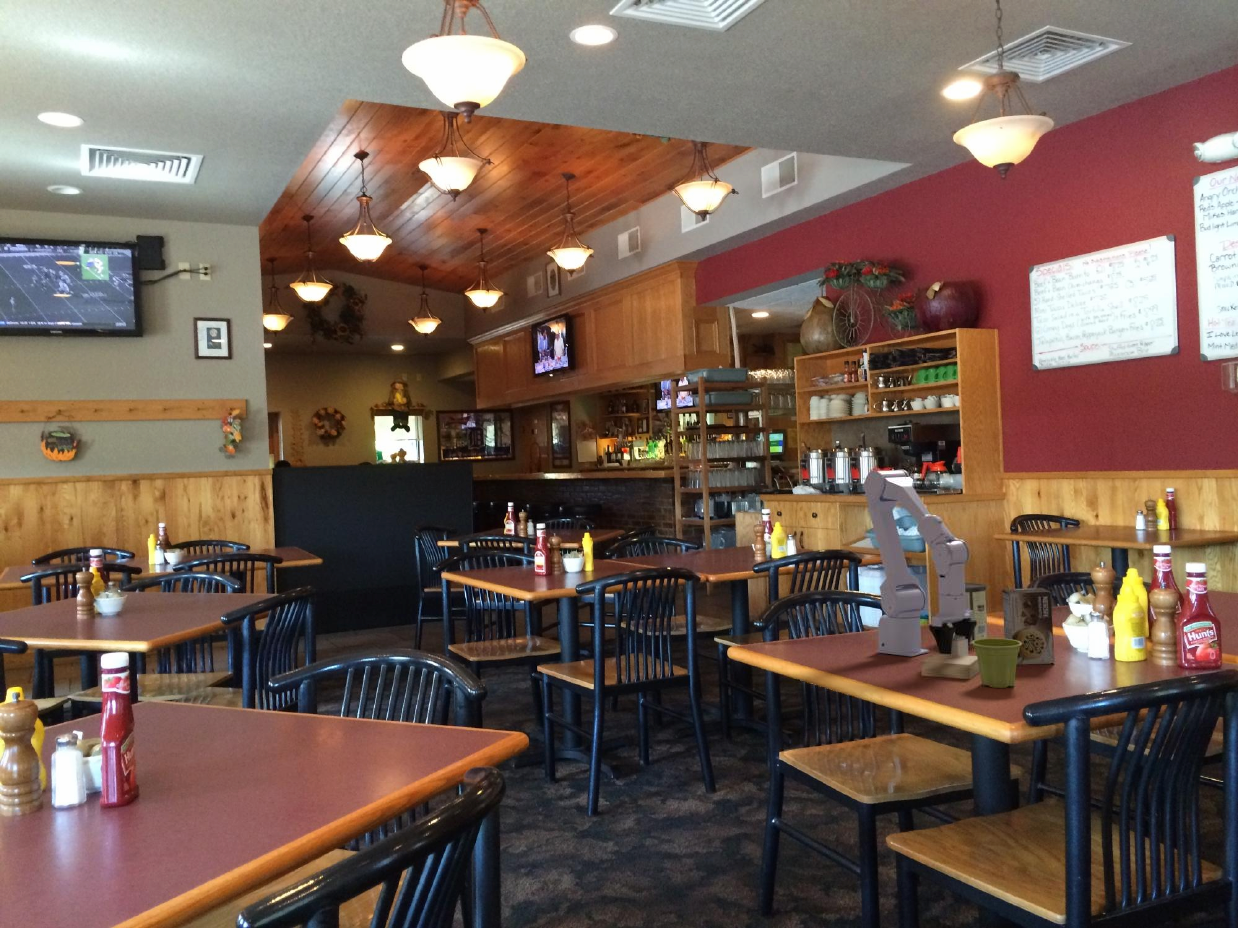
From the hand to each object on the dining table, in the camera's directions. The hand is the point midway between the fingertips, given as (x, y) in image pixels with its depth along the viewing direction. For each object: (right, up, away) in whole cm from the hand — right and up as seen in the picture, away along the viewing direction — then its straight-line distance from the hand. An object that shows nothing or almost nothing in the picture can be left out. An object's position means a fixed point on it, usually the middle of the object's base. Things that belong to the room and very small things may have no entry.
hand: (954, 654), depth 224 cm
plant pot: (+1, -2, -23) cm, 24 cm away
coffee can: (+12, -2, +27) cm, 30 cm away
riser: (-4, -2, -10) cm, 11 cm away
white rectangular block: (0, -2, 0) cm, 2 cm away
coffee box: (+16, -2, -2) cm, 16 cm away
